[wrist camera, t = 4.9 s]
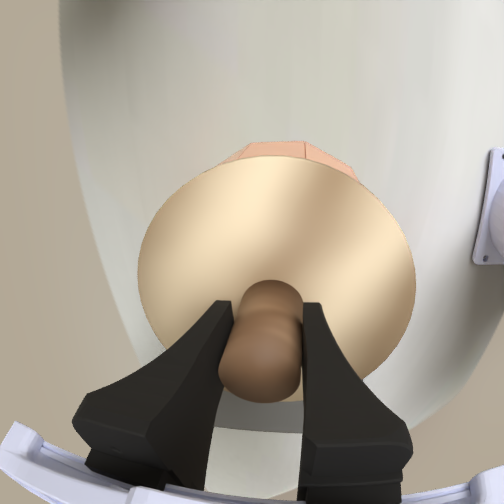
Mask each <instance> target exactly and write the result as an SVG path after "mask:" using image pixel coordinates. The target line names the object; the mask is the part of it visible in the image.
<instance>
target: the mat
mask: <svg viewBox="0 0 504 504" xmlns="http://www.w3.org/2000/svg"><path fill="white" fill-rule="evenodd" d="M362 381H363V379H362ZM303 420H304V405H303V400H302V401H292V402H274V403H255V402H250V401H247V400H244V399H241V398H239V397H237V396H235V395H234V394H232V393H230V392H227V391H225V390H223V392H222V396H221V399H220V402H219V405H218V409H217V413H216V418H215V423H214V427H222V428H230V429H240V430H251V431H264V432H281V433H303Z"/></svg>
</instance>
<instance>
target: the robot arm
mask: <svg viewBox="0 0 504 504" xmlns="http://www.w3.org/2000/svg"><path fill="white" fill-rule="evenodd" d="M503 154H504V148H501V147H494V148H493V149H492V150H491V153H490V162H489V171H488V179H487V186H486V192H485V198H484V204H483V210H482V215H481V220H480V225H479V230H478V235H477V239H476V244H475V248H474V252H473V256H472V259H473V261H474V263H475V264H477V265H493V264H504V159H502V155H503ZM485 255H486V257H485V258H484V259H483V257H484V256H485ZM233 324H234V317H233V310H232V304H231V301H227V300H216V301H215V302H214V303H213V304H212V305H211V306H210V307H209V308H208V309H207V311H206V312H205V313H204V314H203V315H202V316H201V317H200V318H199V319H198V320H197V321H196V323H195V324H194V325H193V326H192V327H191V328H190V329H189V330H188V331H187V332H186V333H185V334H184V335H183V336H182V337H181V338H179V339H178V340H177V341H176V342H175V343H174V344H173V345H172V346H171V347H170V348H168V349H167V350H166V351H165V352H163V353H162V354H161V355H160V356H158V357H157V358H156V359H154V360H153V361H151V362H150V363H148V364H147V365H145V366H144V367H142V368H140V369H139V370H137V371H136V372H134V373H132V374H130V375H129V376H127V377H125V378H123V379H121V380H119V381H117V382H115V383H113V384H110V385H108V386H106V387H103V388H101V389H98V390H96V391H93V392H90V393H87V395H86V396H85V398H84V399H83V401H82V403H81V405H80V406H79V408H78V410H77V412H76V413H75V415H74V417H73V419H72V424H73V427H74V429H75V430H76V432H77V433H78V434H79V435H80V436H81V437H82V439H83V440H84V441H85V442H86V443H87V444H88V445H89V446H90V447H91V448H92V449H91V451H90V453H89V455H88V457H87V459H86V458H83V457H81V456H78V455H75V454H73V453H71V452H68V451H66V450H64V449H61V448H59V447H57V446H54V445H52V444H50V443H48V442H46V441H44V439H43V438H42V437H41V436H40V435H39V434H38V433H37V432H36V431H34V430H33V429H31V428H30V427H28V426H26V425H23V424H22V423H20V422H18V421H15V422H14V424H13V425H12V427H11V429H10V430H9V432H8V433H7V435H6V437H5V438H4V440H3V442H2V444H1V445H0V469H1V470H2V471H3V472H4V473H6V474H7V475H8V476H10V477H11V478H12V479H13V480H15V481H16V482H17V483H19V484H20V485H22V486H23V487H24V488H25V489H27V490H29V491H31V492H32V493H34V494H35V495H37V496H39V497H40V498H42V499H44V500H46V501H47V502H49V503H51V504H504V465H501V466H498V467H495V468H492V469H488V470H485V471H482V472H481V473H478V474H477V475H476V476H474V477H473V478H472V479H471V480H470V481H469V482H466V483H462V484H458V485H454V486H450V487H445V488H441V489H436V490H431V491H426V492H420V493H414V494H408V495H401V484H400V482H402V480H403V474H402V469H403V468H404V466H405V465H406V464H407V462H408V461H409V460H410V458H411V457H412V455H413V445H412V441H411V437H410V434H409V431H408V429H407V426H406V424H405V422H404V421H403V420H402V419H400V418H399V417H398V416H397V415H395V414H394V413H393V412H392V411H391V410H390V409H389V408H387V407H386V406H385V405H384V404H383V403H382V402H381V401H380V400H379V399H378V398H377V397H376V396H375V395H374V393H373V392H372V391H371V390H370V389H369V388H368V387H367V386H366V385H365V384H364V382H363V381H362V380H361V379H360V377H359V376H358V375H357V373H356V372H355V371H354V369H353V368H352V367H351V365H350V364H349V362H348V361H347V359H346V357H345V356H344V354H343V353H342V351H341V349H340V347H339V346H338V344H337V342H336V340H335V338H334V336H333V334H332V332H331V330H330V328H329V325H328V323H327V321H326V318H325V315H324V312H323V309H322V305H321V304H320V303H319V302H303V324H302V384H303V405H304V420H303V435H302V448H301V460H300V472H299V482H298V492H297V501H287V500H285V501H284V500H270V499H258V498H248V497H239V496H231V495H224V494H218V493H211V492H205V491H204V485H205V477H206V470H207V463H208V456H209V450H210V444H211V439H212V433H213V428H214V423H215V418H216V413H217V409H218V405H219V402H220V399H221V396H222V392H223V389H224V385H223V384H222V382H221V380H220V378H219V373H218V369H219V364H220V361H221V358H222V356H223V353H224V350H225V347H226V344H227V341H228V338H229V335H230V332H231V329H232V326H233Z"/></svg>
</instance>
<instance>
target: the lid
mask: <svg viewBox="0 0 504 504" xmlns="http://www.w3.org/2000/svg"><path fill="white" fill-rule="evenodd" d="M137 275H138V288H139V294H140V298H141V303H142V306H143V309H144V312H145V314H146V317H147V319H148V321H149V323H150V325H151V327H152V329H153V331H154V333H155V334H156V336H157V337H158V339H159V340H160V342H161V343H162V344H163V346H164V347H165V348H166V349H168V348H170V347H171V346H172V345H173V344H174V343H175V342H176V341H177V340H178V339H179V338H181V337H182V336H183V335H184V334H185V333H186V332H187V331H188V330H189V329H190V328H191V327H192V326H193V325H194V324H195V323H196V321H197V320H198V319H199V318H200V317H201V316H202V315H203V314H204V313H205V312H206V311H207V309H208V308H209V307H210V306H211V305H212V304H213V303H214V302H215V301H216V300H227V301H231V304H232V310H233V317H234V324H233V326H232V329H231V332H230V335H229V338H228V341H227V344H226V347H225V350H224V353H223V356H222V358H221V361H220V364H219V369H218V373H219V378H220V380H221V382H222V384H223V385H224V389H223V390H225V391H227V392H230V393H232V394H234V395H235V396H237V397H239V398H241V399H244V400H247V401H250V402H255V403H274V402H292V401H302V400H303V384H302V324H303V302H319V303H320V304H321V305H322V309H323V312H324V315H325V318H326V321H327V323H328V325H329V328H330V330H331V332H332V334H333V336H334V338H335V340H336V342H337V344H338V346H339V347H340V349H341V351H342V353H343V354H344V356H345V357H346V359H347V361H348V362H349V364H350V365H351V367H352V368H353V369H354V371H355V372H356V373H357V375H358V376H359V377H360V379H361V380H362V379H363V378H365V377H366V376H367V375H369V374H370V373H371V372H373V371H374V370H375V369H377V368H378V367H379V366H380V365H381V364H382V363H383V362H384V361H385V360H386V359H387V358H388V356H389V355H390V354H391V353H392V351H393V350H394V349H395V348H396V346H397V345H398V343H399V341H400V340H401V338H402V336H403V335H404V333H405V331H406V328H407V326H408V323H409V321H410V319H411V315H412V311H413V307H414V303H415V293H416V277H415V267H414V262H413V258H412V253H411V251H410V248H409V245H408V243H407V240H406V238H405V235H404V234H403V232H402V230H401V228H400V227H399V225H398V223H397V222H396V220H395V219H394V217H393V216H392V215H391V214H390V212H389V211H388V210H387V209H386V207H385V206H384V205H383V204H382V203H381V201H380V200H379V199H378V198H377V197H376V196H375V195H374V194H373V193H371V192H370V191H369V190H368V189H367V188H366V187H365V186H364V185H362V184H361V183H359V182H358V181H356V180H355V179H353V178H352V177H350V176H348V175H347V174H345V173H343V172H341V171H339V170H337V169H335V168H332V167H330V166H328V165H326V164H322V163H319V162H316V161H312V160H309V159H305V158H299V157H292V156H285V155H261V156H254V157H247V158H241V159H237V160H234V161H230V162H227V163H223V164H221V165H219V166H216V167H214V168H212V169H210V170H208V171H205V172H204V173H202V174H200V175H199V176H197V177H196V178H194V179H192V180H191V181H189V182H188V183H186V184H185V185H183V186H182V187H181V188H180V189H178V190H177V191H176V192H175V193H174V194H173V195H172V196H171V197H170V198H169V199H168V200H167V201H166V202H165V203H164V204H163V206H162V207H161V208H160V209H159V211H158V212H157V213H156V215H155V217H154V218H153V220H152V222H151V223H150V225H149V227H148V229H147V231H146V234H145V237H144V239H143V242H142V245H141V250H140V254H139V259H138V274H137Z"/></svg>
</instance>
